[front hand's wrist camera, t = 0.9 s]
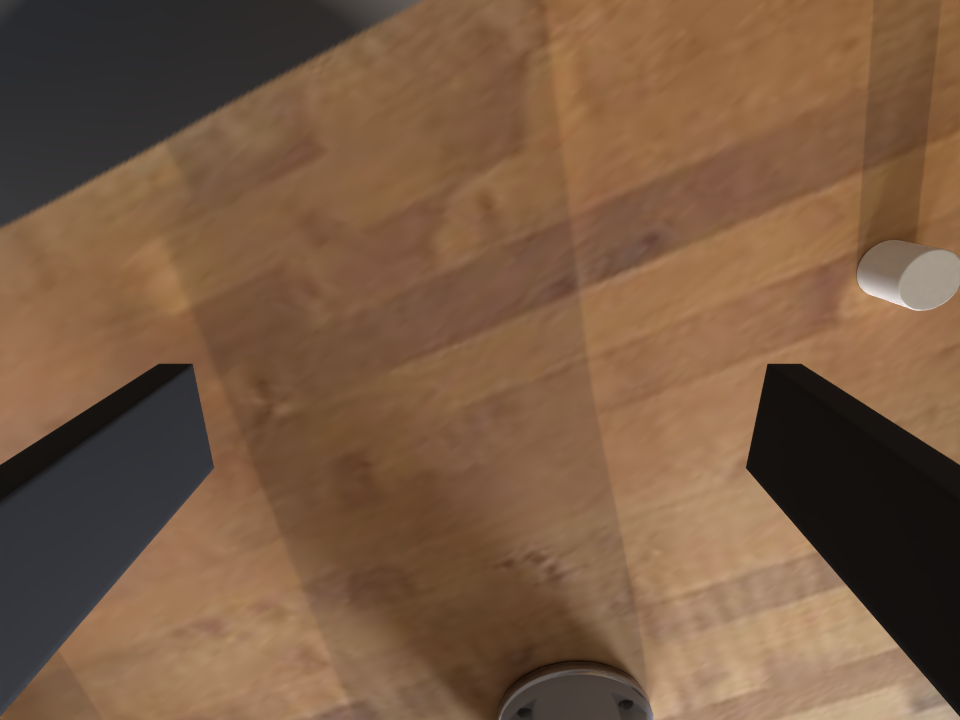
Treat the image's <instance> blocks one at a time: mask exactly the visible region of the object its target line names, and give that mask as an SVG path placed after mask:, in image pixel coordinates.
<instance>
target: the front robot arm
mask: <svg viewBox="0 0 960 720" xmlns="http://www.w3.org/2000/svg"><path fill="white" fill-rule="evenodd" d="M213 469H214V465H213V461H212V456H211V451H210V446H209V441H208V437H207V432H206V427H205V422H204V417H203V412H202V408H201V403H200V398H199V393H198V388H197V383H196V379H195V374H194V369H193V364H158V365H156V366H155V367H153V368H152V369H150V370H148V371H147V372H145V373H144V374H142V375H141V376H139V377H137V378H136V379H134V380H133V381H131V382H130V383H128V384H127V385H125V386H123V387H122V388H120V389H119V390H117V391H116V392H114V393H112V394H111V395H109V396H108V397H106V398H105V399H103V400H101V401H100V402H98V403H97V404H95V405H94V406H92V407H90V408H89V409H87V410H86V411H84V412H83V413H81V414H79V415H78V416H76V417H75V418H73V419H72V420H70V421H69V422H67V423H65V424H64V425H62V426H61V427H59V428H58V429H56V430H54V431H53V432H51V433H50V434H48V435H47V436H45V437H43V438H42V439H40V440H39V441H37V442H36V443H34V444H32V445H31V446H29V447H28V448H26V449H25V450H23V451H22V452H20V453H18V454H17V455H15V456H14V457H12V458H11V459H9V460H7V461H6V462H4V463H3V464H1V465H0V716H1V715H2V714H3V713H4V711H5V710H6V709H7V708H8V707H9V706H10V704H11V703H12V702H13V701H14V700H15V699H16V698H17V696H18V695H19V694H20V693H21V692H22V691H23V689H24V688H25V687H26V686H27V685H28V684H29V682H30V681H31V680H32V679H33V678H34V677H35V675H36V674H37V673H38V672H39V671H40V670H41V668H42V667H43V666H44V665H45V664H46V663H47V662H48V660H49V659H50V658H51V657H52V656H53V655H54V653H55V652H56V651H57V650H58V649H59V648H60V646H61V645H62V644H63V643H64V642H65V641H66V639H67V638H68V637H69V636H70V635H71V634H72V632H73V631H74V630H75V629H76V628H77V627H78V625H79V624H80V623H81V622H82V621H83V620H84V619H85V617H86V616H87V615H88V614H89V613H90V612H91V610H92V609H93V608H94V607H95V606H96V605H97V603H98V602H99V601H100V600H101V599H102V598H103V596H104V595H105V594H106V593H107V592H108V591H109V589H110V588H111V587H112V586H113V585H114V584H115V582H116V581H117V580H118V579H119V578H120V577H121V576H122V574H123V573H124V572H125V571H126V570H127V569H128V567H129V566H130V565H131V564H132V563H133V562H134V560H135V559H136V558H137V557H138V556H139V555H140V553H141V552H142V551H143V550H144V549H145V548H146V546H147V545H148V544H149V543H150V542H151V541H152V540H153V538H154V537H155V536H156V535H157V534H158V533H159V531H160V530H161V529H162V528H163V527H164V526H165V524H166V523H167V522H168V521H169V520H170V519H171V517H172V516H173V515H174V514H175V513H176V512H177V510H178V509H179V508H180V507H181V506H182V505H183V503H184V502H185V501H186V500H187V499H188V498H189V497H190V495H191V494H192V493H193V492H194V491H195V490H196V488H197V487H198V486H199V485H200V484H201V483H202V481H203V480H204V479H205V478H206V477H207V476H208V474H209V473H210V472H211V471H212V470H213ZM746 469H747V470H748V471H749V472H750V473H751V474H752V476H753V477H754V478H755V479H756V480H757V481H758V483H759V484H760V485H761V486H762V487H763V488H764V490H765V491H766V492H767V493H768V494H769V495H770V497H771V498H772V499H773V500H774V501H775V502H776V503H777V505H778V506H779V507H780V508H781V509H782V510H783V512H784V513H785V514H786V515H787V516H788V517H789V519H790V520H791V521H792V522H793V523H794V524H795V526H796V527H797V528H798V529H799V530H800V531H801V533H802V534H803V535H804V536H805V537H806V538H807V540H808V541H809V542H810V543H811V544H812V545H813V546H814V548H815V549H816V550H817V551H818V552H819V553H820V555H821V556H822V557H823V558H824V559H825V560H826V562H827V563H828V564H829V565H830V566H831V567H832V569H833V570H834V571H835V572H836V573H837V574H838V576H839V577H840V578H841V579H842V580H843V581H844V582H845V584H846V585H847V586H848V587H849V588H850V589H851V591H852V592H853V593H854V594H855V595H856V596H857V598H858V599H859V600H860V601H861V602H862V603H863V605H864V606H865V607H866V608H867V609H868V610H869V612H870V613H871V614H872V615H873V616H874V617H875V619H876V620H877V621H878V622H879V623H880V624H881V625H882V627H883V628H884V629H885V630H886V631H887V632H888V634H889V635H890V636H891V637H892V638H893V639H894V641H895V642H896V643H897V644H898V645H899V646H900V648H901V649H902V650H903V651H904V652H905V653H906V655H907V656H908V657H909V658H910V659H911V660H912V662H913V663H914V664H915V665H916V666H917V667H918V668H919V670H920V671H921V672H922V673H923V674H924V675H925V677H926V678H927V679H928V680H929V681H930V682H931V684H932V685H933V686H934V687H935V688H936V689H937V691H938V692H939V693H940V694H941V695H942V696H943V698H944V699H945V700H946V701H947V702H948V703H949V704H950V706H951V707H952V708H953V709H954V710H955V711H956V713H957V714H958V715H959V716H960V465H959V464H957V463H956V462H954V461H953V460H951V459H949V458H948V457H946V456H945V455H943V454H942V453H940V452H938V451H937V450H935V449H934V448H932V447H931V446H929V445H928V444H926V443H924V442H923V441H921V440H920V439H918V438H917V437H915V436H913V435H912V434H910V433H909V432H907V431H906V430H904V429H902V428H901V427H899V426H898V425H896V424H895V423H893V422H891V421H890V420H888V419H887V418H885V417H884V416H882V415H881V414H879V413H877V412H876V411H874V410H873V409H871V408H870V407H868V406H866V405H865V404H863V403H862V402H860V401H859V400H857V399H855V398H854V397H852V396H851V395H849V394H848V393H846V392H844V391H843V390H841V389H840V388H838V387H837V386H835V385H833V384H832V383H830V382H829V381H827V380H826V379H824V378H823V377H821V376H819V375H818V374H816V373H815V372H813V371H812V370H810V369H808V368H807V367H805V366H804V365H802V364H767V369H766V374H765V379H764V383H763V388H762V393H761V398H760V403H759V408H758V412H757V417H756V422H755V427H754V432H753V437H752V441H751V446H750V451H749V456H748V461H747V465H746ZM497 720H654V718H653V713H652V710H651V707H650V704H649V700H648V698H647V695H646V693H645V692H644V690H643V689H642V687H641V686H640V685H639V684H638V683H637V682H636V681H635V680H634V679H633V678H632V677H630V676H629V675H627V674H626V673H624V672H622V671H620V670H618V669H615V668H613V667H610V666H607V665H603V664H598V663H593V662H565V663H558V664H553V665H550V666H546V667H543V668H540V669H538V670H535V671H533V672H531V673H529V674H528V675H526V676H524V677H523V678H521V679H520V680H518V681H517V682H516V683H515V684H514V685H513V686H512V687H511V688H510V689H509V690H508V691H507V692H506V694H505V695H504V697H503V698H502V700H501V702H500V705H499V708H498V714H497Z"/></svg>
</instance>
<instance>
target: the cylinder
mask: <svg viewBox="0 0 960 720" xmlns="http://www.w3.org/2000/svg"><path fill="white" fill-rule="evenodd" d="M857 280H858V283H859V285H860V287H861V288H862V290H863V291H865V292H866V293H868V294H870V295H873V296H876V297H879V298H882V299H884V300H887V301H890V302H893V303H896V304H899V305H901V306H904V307H907V308H910V309H913V310H919V311H922V310H929V309H933V308H936V307H938V306H940V305H942V304H943V303H945V302H946V301H947V300H949V299H950V298H951V297H952V296H953V295H954V293H955V292H956V291H957V289H958V288H959V286H960V258H959V257H958V256H957V255H956V254H955V253H953V252H952V251H949V250H946V249H941V248H936V247H931V246H926V245H921V244H916V243H911V242H905V241H900V240H888V241H884V242H881V243H879V244H877V245H875V246H874V247H872V248H871V249H870V250H869V251H868V252H867V253H866V254H865V255H864V256H863V258H862V259H861V261H860V263H859V266H858V269H857Z"/></svg>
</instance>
